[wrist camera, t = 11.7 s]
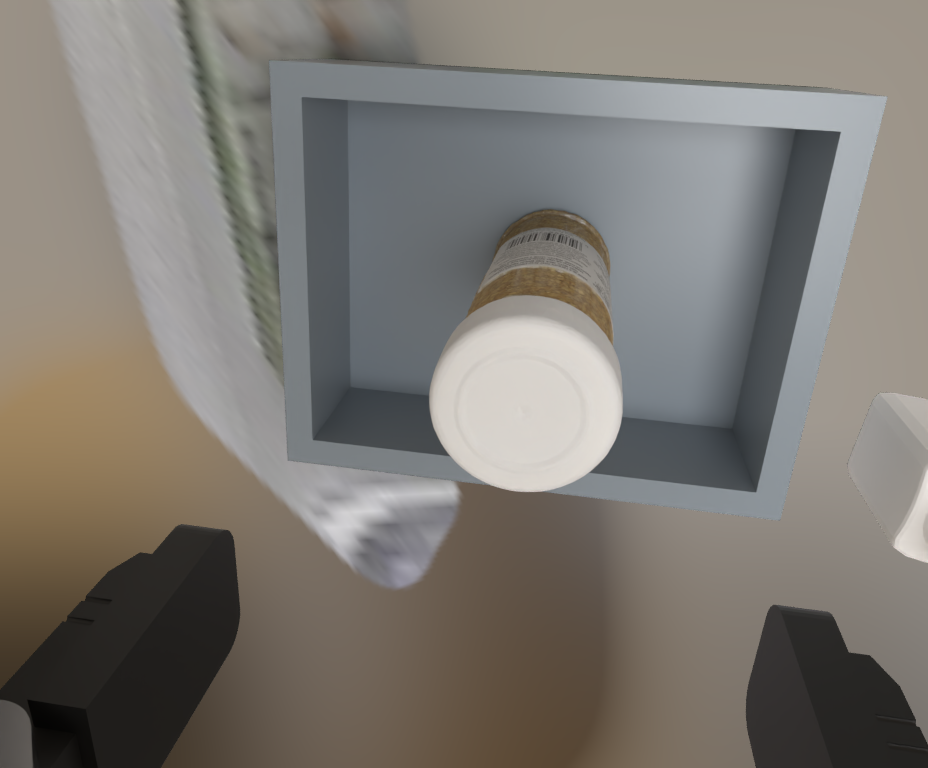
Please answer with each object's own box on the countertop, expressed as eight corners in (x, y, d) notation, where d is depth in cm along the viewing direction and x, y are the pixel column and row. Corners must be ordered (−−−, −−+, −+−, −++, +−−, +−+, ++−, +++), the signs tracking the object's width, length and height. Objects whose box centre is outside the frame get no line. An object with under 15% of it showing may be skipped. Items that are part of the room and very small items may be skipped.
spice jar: (480, 301, 31) (404, 464, 19) (513, 190, 29) (452, 292, 17) (589, 336, 31) (585, 523, 19) (630, 226, 29) (655, 356, 17)
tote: (329, 58, 29) (268, 60, 24) (827, 87, 27) (887, 96, 22) (335, 396, 35) (287, 460, 29) (748, 442, 33) (779, 520, 27)
